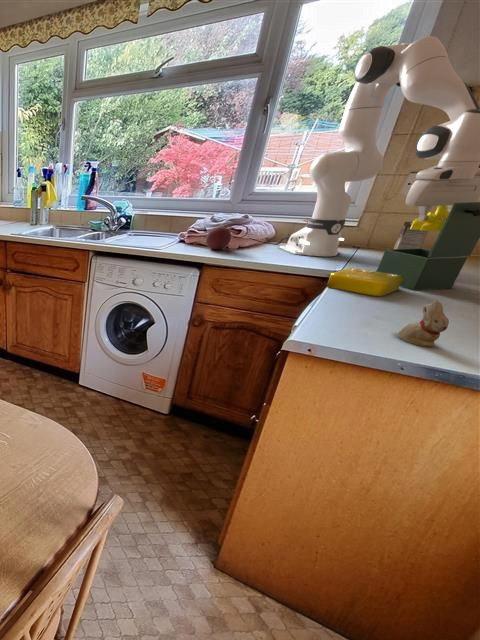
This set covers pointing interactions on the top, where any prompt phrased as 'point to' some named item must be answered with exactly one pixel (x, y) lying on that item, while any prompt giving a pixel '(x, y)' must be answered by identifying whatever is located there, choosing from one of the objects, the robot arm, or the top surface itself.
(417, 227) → the yellow lumpy shape
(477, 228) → the lid
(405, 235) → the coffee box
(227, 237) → the decorative ball
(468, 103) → the robot arm
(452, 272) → the green hinged box
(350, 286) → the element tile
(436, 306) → the chocolate bunny
